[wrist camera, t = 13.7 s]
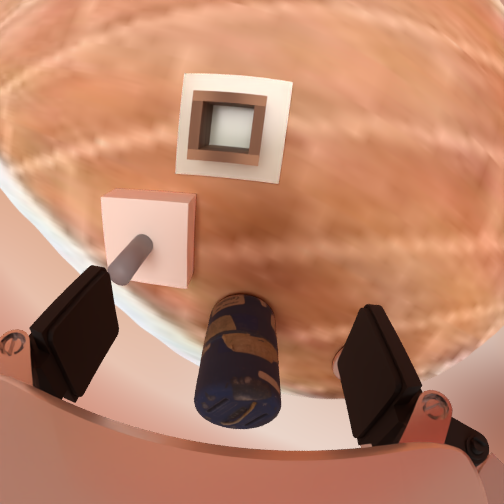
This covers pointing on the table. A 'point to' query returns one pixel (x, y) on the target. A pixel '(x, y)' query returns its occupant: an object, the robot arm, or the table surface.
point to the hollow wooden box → (202, 127)
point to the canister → (239, 365)
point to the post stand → (149, 236)
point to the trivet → (237, 126)
